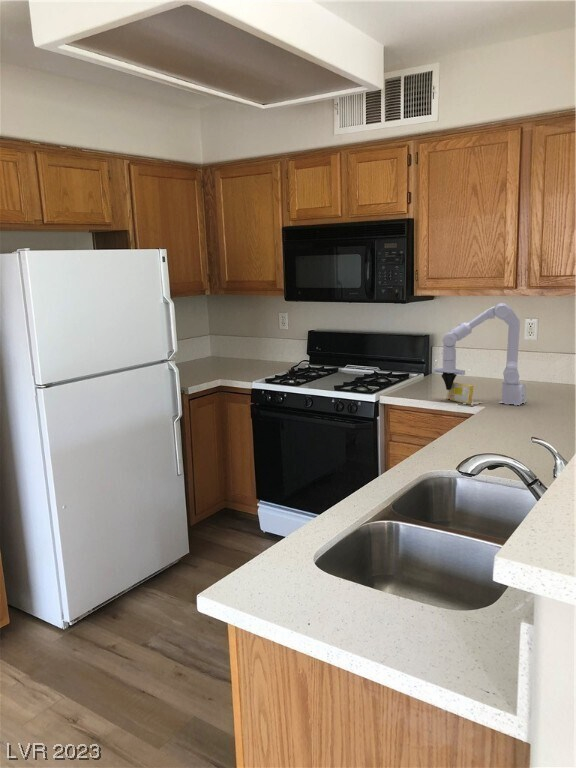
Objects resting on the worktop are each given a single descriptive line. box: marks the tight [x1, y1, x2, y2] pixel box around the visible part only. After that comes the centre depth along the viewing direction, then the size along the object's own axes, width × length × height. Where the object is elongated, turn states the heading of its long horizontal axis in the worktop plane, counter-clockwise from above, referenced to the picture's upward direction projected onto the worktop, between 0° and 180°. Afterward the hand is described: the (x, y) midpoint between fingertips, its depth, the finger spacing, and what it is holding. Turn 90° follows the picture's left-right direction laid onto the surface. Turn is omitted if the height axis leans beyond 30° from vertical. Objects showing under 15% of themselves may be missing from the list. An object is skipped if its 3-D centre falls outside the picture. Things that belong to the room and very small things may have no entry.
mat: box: [457, 402, 478, 408], centre depth 271 cm, size 7×10×1 cm
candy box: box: [445, 381, 474, 404], centre depth 274 cm, size 16×2×8 cm, turn 22°
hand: (448, 389), depth 277 cm, fingers closed
